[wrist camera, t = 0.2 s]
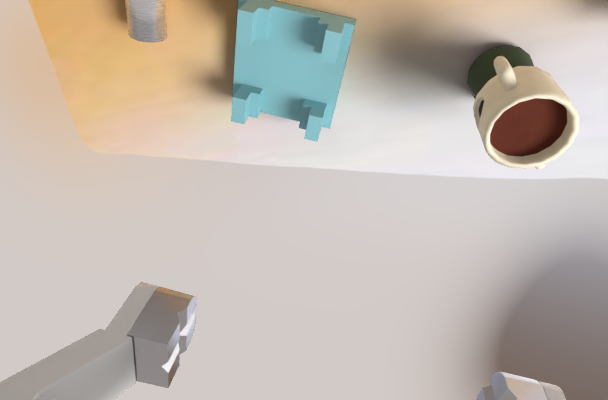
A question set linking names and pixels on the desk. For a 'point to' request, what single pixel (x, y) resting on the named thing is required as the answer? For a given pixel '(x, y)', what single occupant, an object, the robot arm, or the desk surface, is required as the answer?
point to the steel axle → (146, 20)
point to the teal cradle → (289, 63)
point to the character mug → (520, 109)
